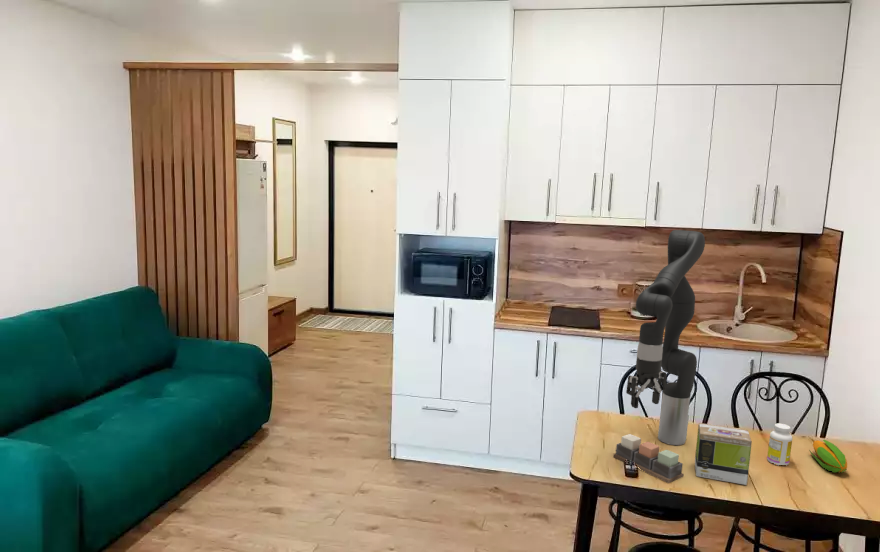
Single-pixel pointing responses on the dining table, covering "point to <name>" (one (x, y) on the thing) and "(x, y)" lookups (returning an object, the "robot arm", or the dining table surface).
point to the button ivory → (631, 441)
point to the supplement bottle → (780, 445)
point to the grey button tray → (649, 464)
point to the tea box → (723, 453)
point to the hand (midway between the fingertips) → (644, 405)
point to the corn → (829, 456)
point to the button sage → (668, 458)
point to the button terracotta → (649, 449)
